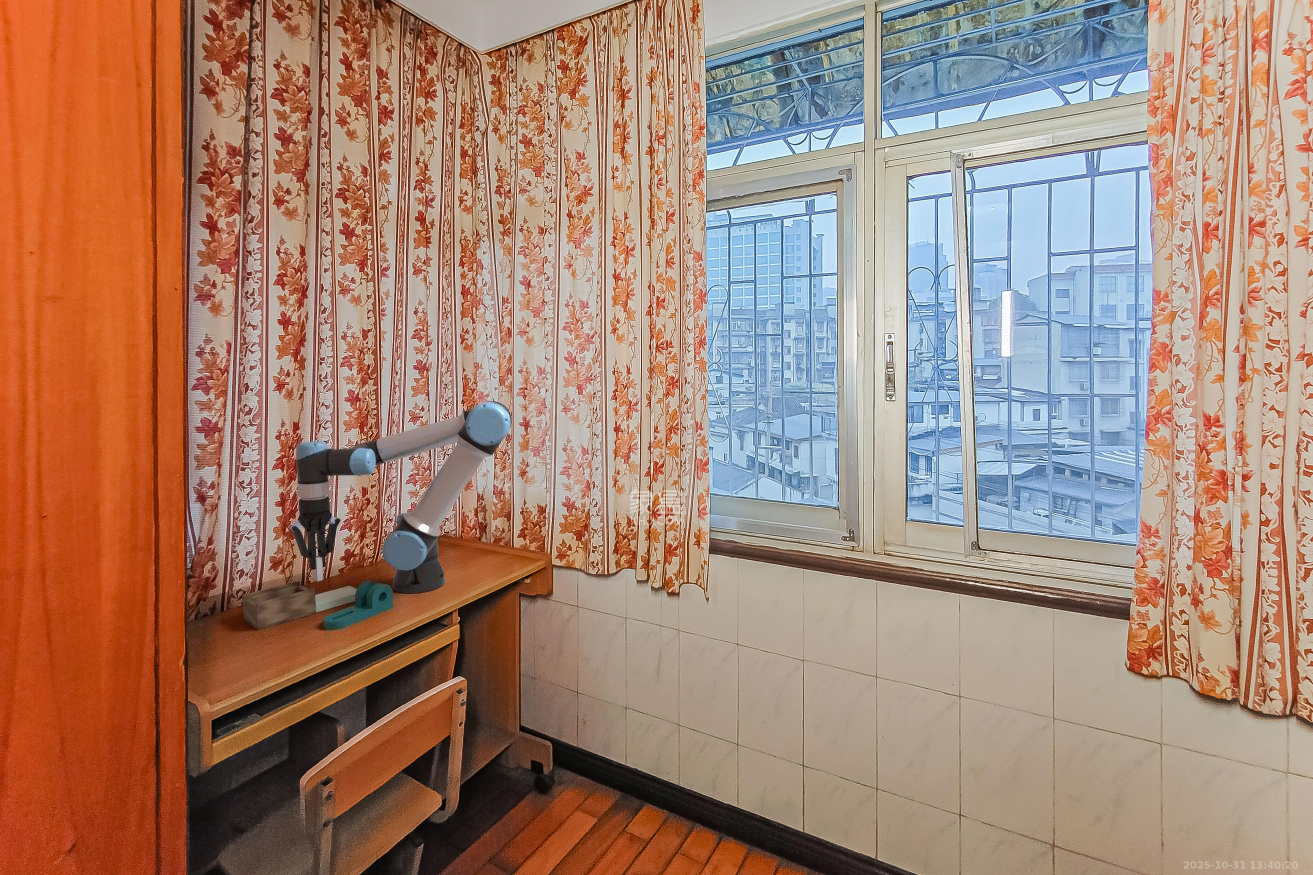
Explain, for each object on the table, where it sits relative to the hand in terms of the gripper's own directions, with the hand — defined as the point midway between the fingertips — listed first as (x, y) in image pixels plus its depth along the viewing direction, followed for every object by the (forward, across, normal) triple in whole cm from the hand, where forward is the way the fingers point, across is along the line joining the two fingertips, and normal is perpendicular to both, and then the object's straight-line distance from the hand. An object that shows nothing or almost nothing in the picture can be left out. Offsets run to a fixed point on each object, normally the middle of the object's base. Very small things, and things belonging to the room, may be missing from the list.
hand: (318, 579), depth 169 cm
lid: (+8, -4, 0) cm, 9 cm away
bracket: (+8, -3, +16) cm, 18 cm away
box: (+8, +10, 0) cm, 13 cm away
